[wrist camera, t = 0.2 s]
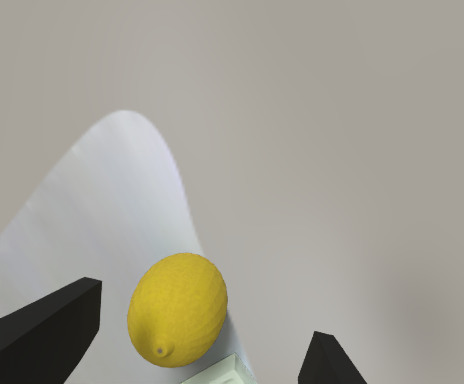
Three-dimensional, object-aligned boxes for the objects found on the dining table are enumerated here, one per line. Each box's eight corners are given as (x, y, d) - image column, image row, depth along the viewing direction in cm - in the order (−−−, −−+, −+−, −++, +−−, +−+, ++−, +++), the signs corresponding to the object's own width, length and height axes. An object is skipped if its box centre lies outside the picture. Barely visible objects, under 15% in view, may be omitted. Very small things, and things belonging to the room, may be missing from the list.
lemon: (229, 310, 20) (217, 411, 12) (157, 304, 20) (100, 399, 12) (233, 240, 19) (223, 299, 11) (158, 234, 20) (98, 288, 12)
